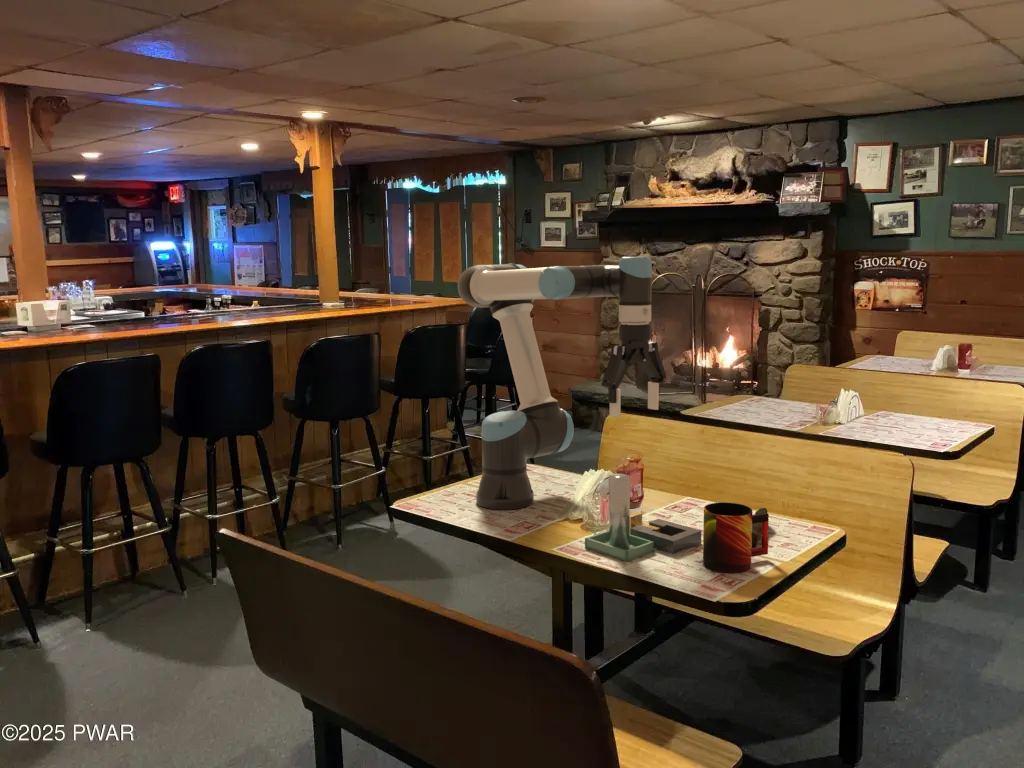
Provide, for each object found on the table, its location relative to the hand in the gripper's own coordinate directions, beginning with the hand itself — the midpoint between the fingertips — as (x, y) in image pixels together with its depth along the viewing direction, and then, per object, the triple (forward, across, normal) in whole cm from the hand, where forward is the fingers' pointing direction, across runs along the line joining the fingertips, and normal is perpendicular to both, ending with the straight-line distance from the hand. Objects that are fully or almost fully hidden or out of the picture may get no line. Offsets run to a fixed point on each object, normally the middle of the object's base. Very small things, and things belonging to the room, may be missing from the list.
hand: (634, 412), depth 198 cm
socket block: (+27, -6, -15) cm, 31 cm away
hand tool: (+27, +12, -26) cm, 39 cm away
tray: (+27, -18, -11) cm, 34 cm away
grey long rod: (+26, -18, -11) cm, 33 cm away
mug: (+27, -6, -32) cm, 42 cm away
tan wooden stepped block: (+26, -7, -9) cm, 29 cm away
